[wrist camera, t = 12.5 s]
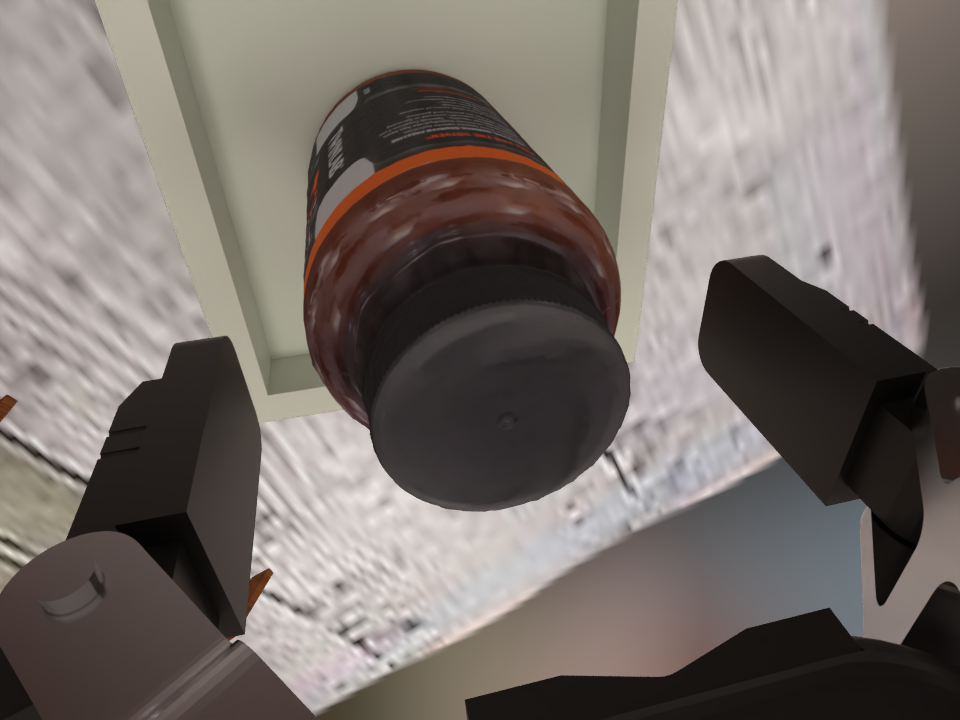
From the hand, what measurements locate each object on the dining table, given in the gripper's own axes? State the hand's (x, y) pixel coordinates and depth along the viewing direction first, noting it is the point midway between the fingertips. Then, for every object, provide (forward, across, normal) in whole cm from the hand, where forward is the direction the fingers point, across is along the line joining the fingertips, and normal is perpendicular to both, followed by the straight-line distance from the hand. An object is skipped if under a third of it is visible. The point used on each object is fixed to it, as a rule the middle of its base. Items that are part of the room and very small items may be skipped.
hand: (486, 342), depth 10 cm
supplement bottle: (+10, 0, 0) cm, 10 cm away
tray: (+10, 0, 0) cm, 11 cm away
